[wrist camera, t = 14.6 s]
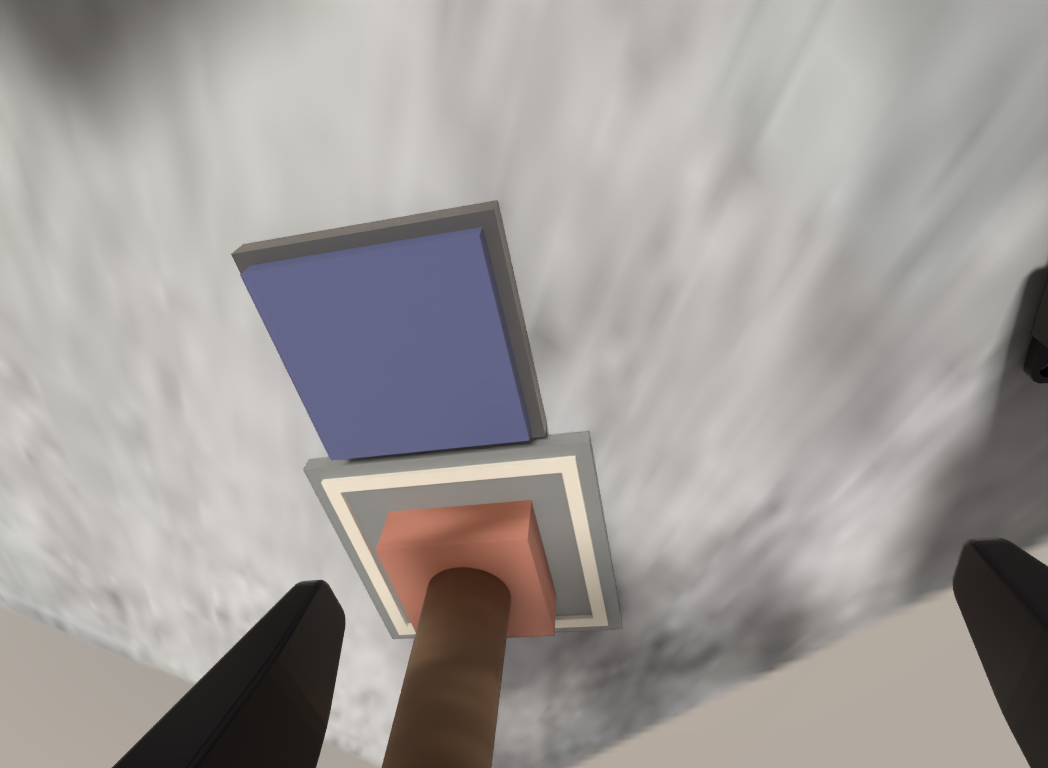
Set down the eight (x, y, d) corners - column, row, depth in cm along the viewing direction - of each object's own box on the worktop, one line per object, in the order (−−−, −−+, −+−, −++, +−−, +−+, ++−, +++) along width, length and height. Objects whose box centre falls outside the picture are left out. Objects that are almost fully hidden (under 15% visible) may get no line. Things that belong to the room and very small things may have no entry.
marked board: (589, 431, 22) (589, 445, 22) (621, 617, 29) (622, 633, 28) (308, 459, 24) (301, 473, 24) (395, 628, 31) (391, 642, 30)
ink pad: (497, 200, 18) (490, 217, 17) (546, 422, 22) (544, 449, 21) (243, 244, 19) (219, 262, 18) (337, 444, 24) (324, 470, 23)
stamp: (531, 499, 24) (505, 756, 16) (556, 595, 27) (545, 847, 19) (389, 511, 25) (300, 758, 17) (429, 602, 28) (370, 844, 20)
